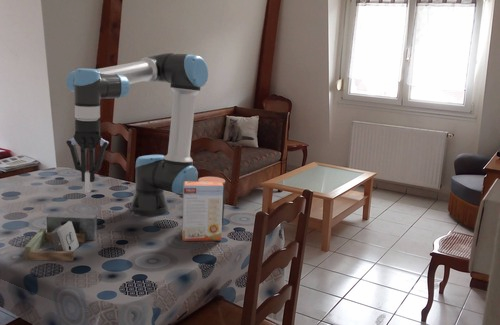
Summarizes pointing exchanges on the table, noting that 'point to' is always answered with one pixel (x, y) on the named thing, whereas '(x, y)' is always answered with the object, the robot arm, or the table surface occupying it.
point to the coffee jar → (215, 179)
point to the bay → (36, 254)
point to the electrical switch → (65, 238)
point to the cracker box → (202, 211)
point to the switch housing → (74, 223)
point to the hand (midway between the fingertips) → (88, 191)
